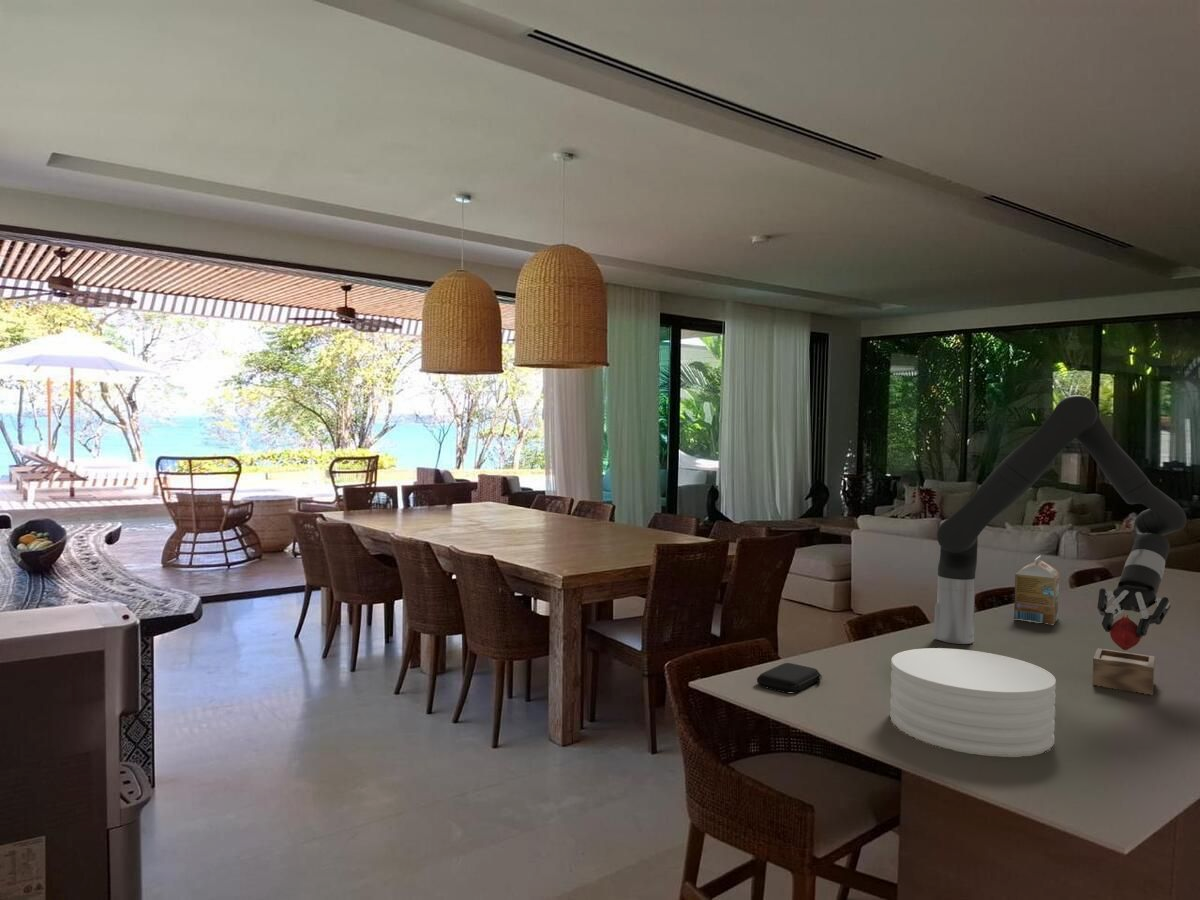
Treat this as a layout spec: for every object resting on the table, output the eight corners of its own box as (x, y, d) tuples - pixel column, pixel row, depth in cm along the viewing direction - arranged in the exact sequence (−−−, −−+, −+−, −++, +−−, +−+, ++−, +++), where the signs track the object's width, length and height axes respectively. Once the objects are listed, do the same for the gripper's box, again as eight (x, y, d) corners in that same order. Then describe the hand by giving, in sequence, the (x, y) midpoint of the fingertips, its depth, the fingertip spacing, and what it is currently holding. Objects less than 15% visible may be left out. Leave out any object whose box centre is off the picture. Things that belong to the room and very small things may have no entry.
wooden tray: (1092, 685, 178) (1093, 658, 177) (1096, 673, 186) (1097, 648, 186) (1152, 695, 171) (1153, 667, 171) (1153, 682, 180) (1154, 656, 180)
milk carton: (1019, 614, 249) (1021, 553, 249) (1058, 619, 243) (1060, 557, 243) (1014, 620, 241) (1015, 557, 240) (1054, 625, 235) (1055, 561, 234)
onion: (1145, 654, 175) (1146, 618, 175) (1116, 652, 176) (1117, 616, 176) (1133, 647, 181) (1134, 612, 181) (1105, 646, 182) (1106, 611, 182)
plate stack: (976, 768, 132) (978, 700, 132) (858, 713, 158) (860, 655, 157) (1090, 745, 143) (1091, 681, 143) (962, 696, 169) (964, 643, 169)
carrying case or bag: (798, 698, 166) (828, 682, 178) (798, 684, 166) (828, 668, 178) (753, 687, 173) (784, 672, 184) (753, 673, 173) (784, 659, 184)
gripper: (1103, 559, 189) (1082, 616, 181) (1175, 567, 177) (1156, 628, 170) (1111, 579, 192) (1091, 636, 185) (1182, 588, 181) (1164, 649, 174)
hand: (1122, 632), depth 177 cm, fingers closed on onion, 5 cm apart
